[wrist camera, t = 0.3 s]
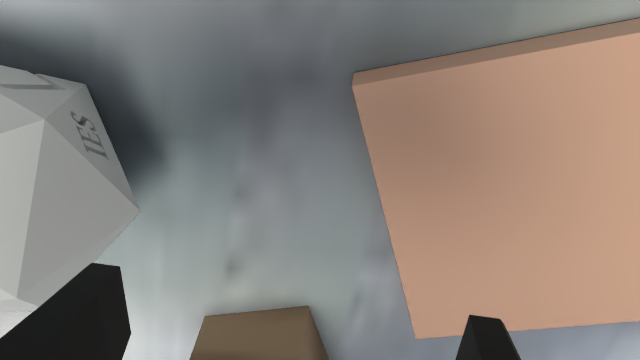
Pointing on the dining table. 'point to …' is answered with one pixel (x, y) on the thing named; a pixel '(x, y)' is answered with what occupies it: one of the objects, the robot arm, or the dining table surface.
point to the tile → (512, 179)
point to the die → (54, 187)
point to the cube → (260, 336)
